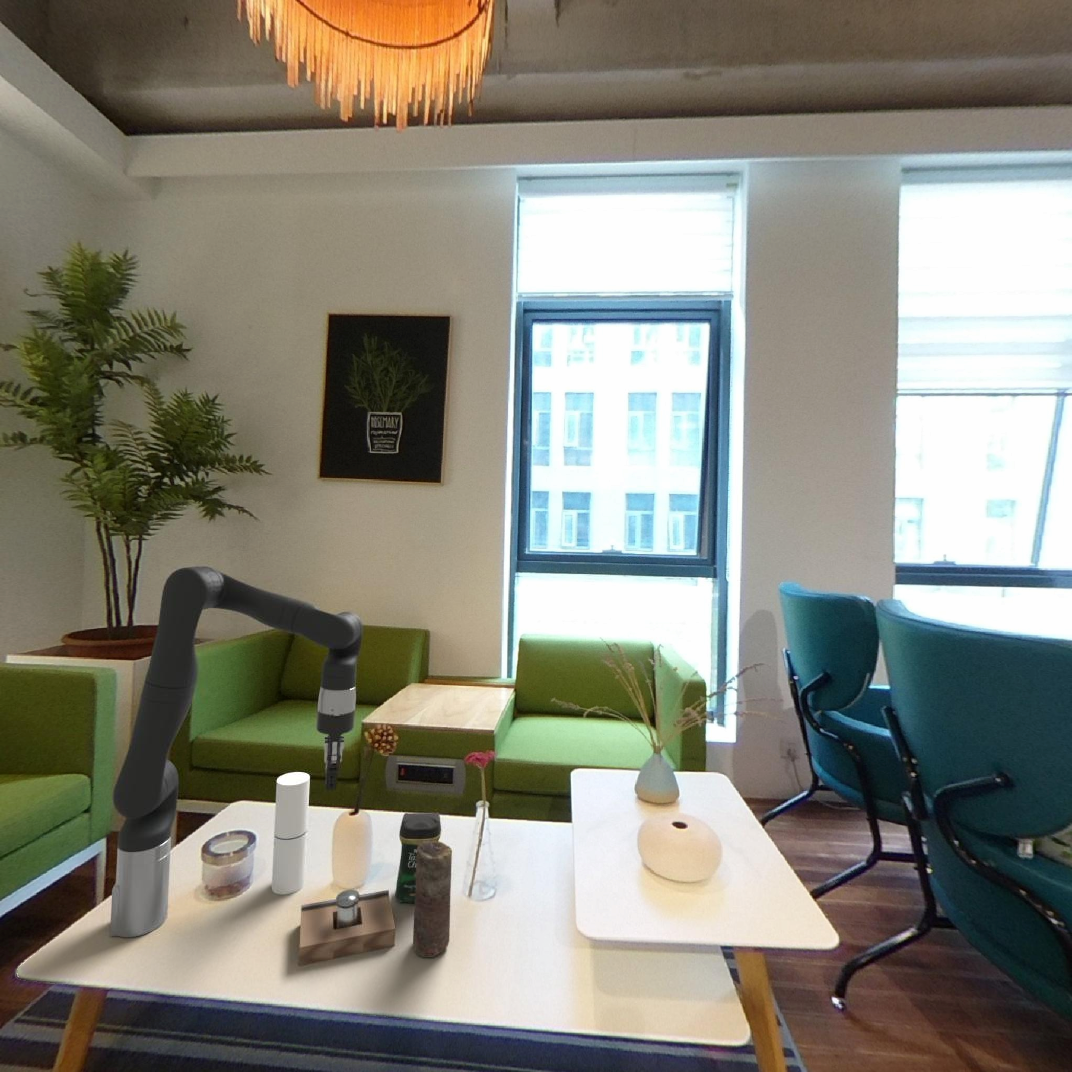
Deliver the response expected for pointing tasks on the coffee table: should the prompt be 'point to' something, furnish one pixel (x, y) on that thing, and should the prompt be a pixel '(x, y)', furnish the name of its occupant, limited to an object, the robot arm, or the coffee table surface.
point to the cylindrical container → (290, 832)
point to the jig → (345, 929)
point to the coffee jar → (414, 849)
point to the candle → (432, 899)
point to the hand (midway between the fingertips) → (330, 788)
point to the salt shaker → (347, 908)
